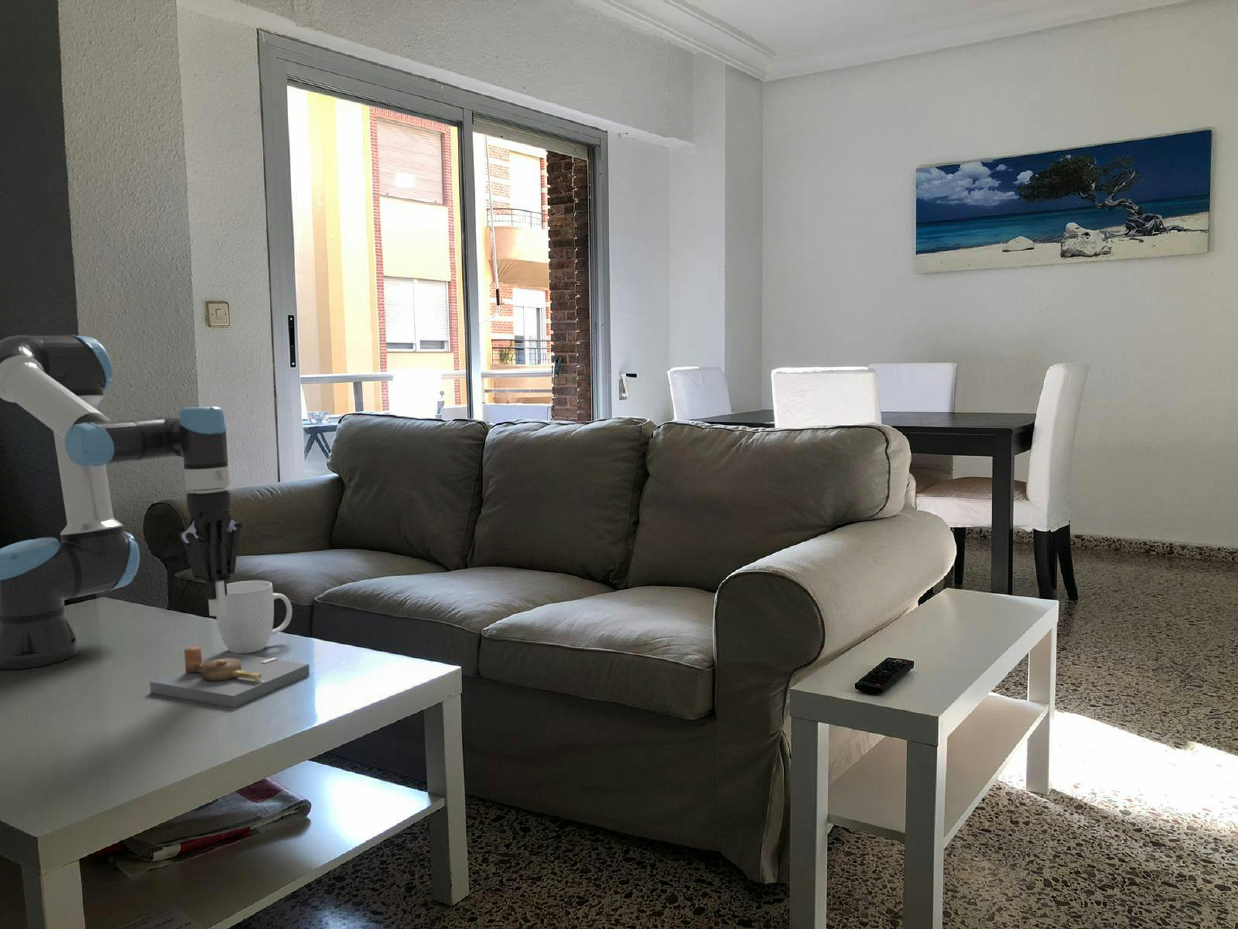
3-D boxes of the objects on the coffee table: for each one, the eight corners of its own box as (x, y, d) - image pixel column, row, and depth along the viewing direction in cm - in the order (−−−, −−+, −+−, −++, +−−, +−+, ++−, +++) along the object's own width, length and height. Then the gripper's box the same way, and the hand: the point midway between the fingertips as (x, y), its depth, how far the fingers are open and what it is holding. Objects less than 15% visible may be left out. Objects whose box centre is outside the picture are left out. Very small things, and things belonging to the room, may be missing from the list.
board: (150, 692, 171) (149, 680, 171) (230, 662, 187) (229, 651, 187) (234, 707, 163) (233, 694, 162) (309, 674, 179) (309, 662, 179)
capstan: (174, 674, 174) (172, 653, 173) (202, 664, 179) (201, 643, 179) (245, 686, 166) (243, 664, 166) (272, 675, 172) (271, 653, 172)
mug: (283, 634, 206) (279, 574, 205) (303, 645, 198) (299, 583, 196) (211, 649, 197) (206, 586, 195) (228, 661, 188) (224, 596, 187)
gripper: (194, 495, 170) (204, 625, 173) (250, 486, 182) (259, 608, 184) (164, 494, 173) (174, 622, 176) (221, 485, 185) (230, 605, 188)
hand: (218, 615), depth 180 cm, fingers closed
